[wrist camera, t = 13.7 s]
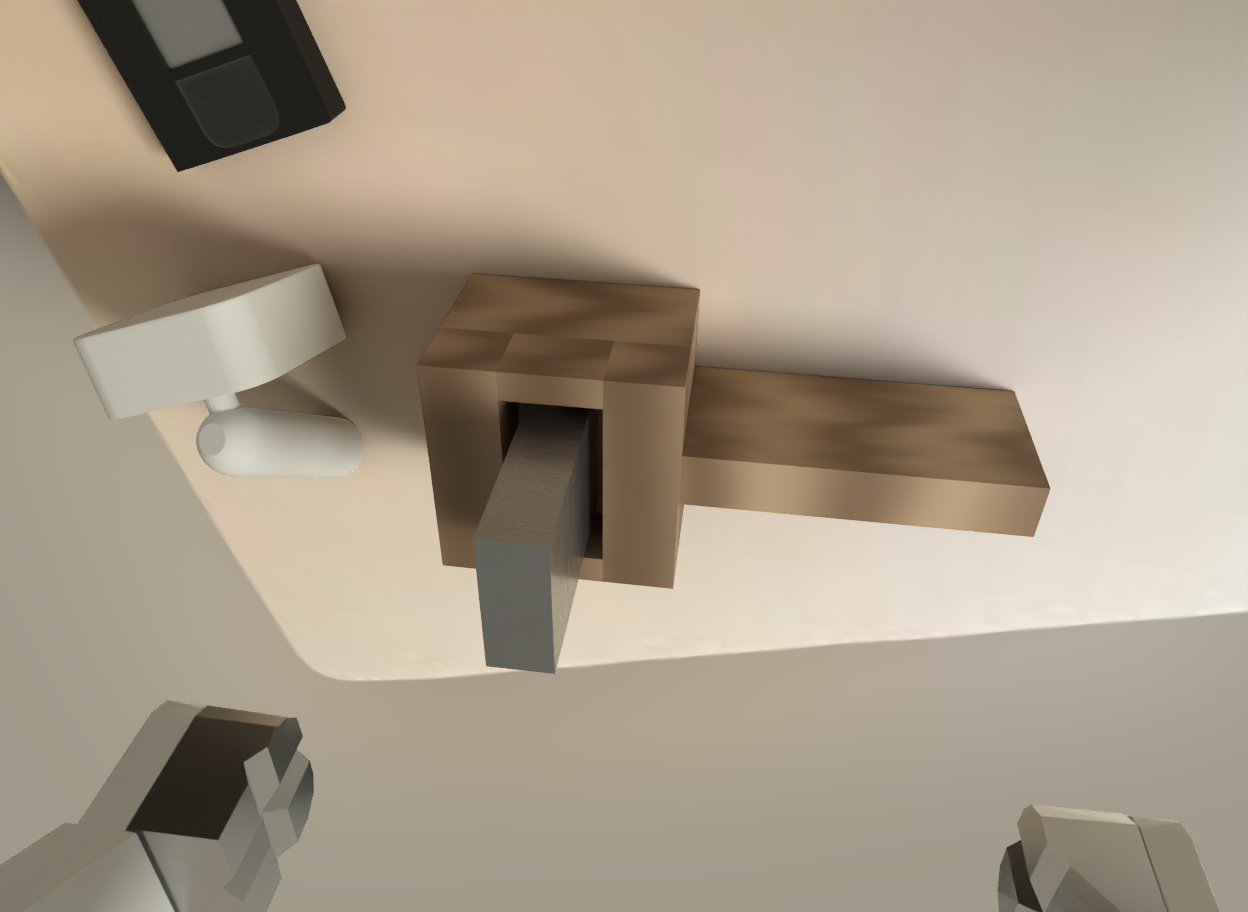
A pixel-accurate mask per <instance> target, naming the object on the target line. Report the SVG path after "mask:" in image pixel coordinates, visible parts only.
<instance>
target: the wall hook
mask: <svg viewBox="0 0 1248 912" xmlns="http://www.w3.org/2000/svg"><path fill="white" fill-rule="evenodd" d="M346 338H347V336H346V334H345V331H344V328H343V325H342V323H341V320H340V317H339V314H338V312H337V309H336V306H335V303H334V301H333V298H332V295H331V292H330V290H329V287H328V284H327V281H326V279H325V276H324V273H323V270H322V268H321V265H320V264H312V265H308V266H303V267H299V268H296V269H292V270H288V271H284V272H280V273H276V274H272V275H269V276H265V277H261V278H257V279H253V280H249V281H245V282H242V283H238V284H234V285H230V286H226V287H222V288H218V289H215V290H211V291H207V292H203V293H200V294H196V295H192V296H189V297H186V298H183V299H179V300H176V301H173V302H170V303H167V304H164V305H162V306H159V307H156V308H154V309H151V310H148V311H145V312H143V313H140V314H137V315H134V316H132V317H129V318H126V319H123V320H121V321H118V322H115V323H113V324H110V325H107V326H104V327H102V328H99V329H96V330H93V331H91V332H88V333H86V334H83V335H80V336H78V337H76V338H74V339H73V342H74V344H75V347H76V348H77V351H78V353H79V355H80V357H81V360H82V361H83V364H84V366H85V368H86V370H87V373H88V375H89V377H90V379H91V381H92V383H93V386H94V388H95V390H96V392H97V394H98V397H99V399H100V401H101V403H102V405H103V407H104V410H105V412H106V414H107V416H108V418H109V419H111V420H113V419H120V418H124V417H129V416H133V415H137V414H142V413H147V412H151V411H156V410H160V409H165V408H169V407H174V406H178V405H183V404H187V403H192V402H196V401H201V400H204V401H205V403H206V406H207V408H208V411H209V413H210V415H209V416H208V417H207V418H206V419H205V420H204V421H203V422H202V424H201V425H200V427H199V430H198V433H197V438H196V443H197V449H198V452H199V454H200V456H201V458H202V459H203V461H204V462H205V463H206V464H207V465H208V466H209V467H210V468H212V469H213V470H215V471H216V472H219V473H221V474H224V475H227V476H234V477H278V478H342V477H345V476H347V475H349V474H350V473H352V472H353V471H354V470H355V469H356V467H357V466H358V464H359V463H360V460H361V458H362V454H363V441H362V437H361V434H360V432H359V430H358V429H357V427H356V426H355V425H354V424H353V423H352V422H350V421H349V420H347V419H344V418H340V417H331V416H323V415H315V414H306V413H298V412H290V411H281V410H273V409H265V408H256V407H246V406H240V403H239V401H238V398H237V396H236V394H235V393H236V392H240V391H243V390H247V389H250V388H253V387H256V386H259V385H261V384H264V383H267V382H269V381H272V380H274V379H276V378H278V377H280V376H282V375H284V374H285V373H287V372H289V371H291V370H292V369H294V368H296V367H298V366H299V365H301V364H303V363H305V362H306V361H308V360H310V359H311V358H313V357H315V356H317V355H318V354H320V353H322V352H324V351H325V350H327V349H329V348H331V347H332V346H334V345H336V344H338V343H339V342H341V341H343V340H345V339H346Z"/></svg>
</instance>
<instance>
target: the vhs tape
mask: <svg viewBox="0 0 1248 912" xmlns="http://www.w3.org/2000/svg"><path fill="white" fill-rule="evenodd" d="M78 2H79V3H80V5H81V7H82V9H83V10H84V12H85V14H86V15H87V17H88V19H89V21H90V22H91V24H92V26H93V27H94V29H95V31H96V33H97V34H98V36H99V38H100V39H101V41H102V43H103V45H104V46H105V48H106V50H107V52H108V53H109V55H110V57H111V58H112V60H113V62H114V64H115V65H116V67H117V69H118V70H119V72H120V74H121V76H122V77H123V79H124V81H125V82H126V84H127V86H128V88H129V89H130V91H131V93H132V94H133V96H134V98H135V100H136V101H137V103H138V105H139V106H140V108H141V110H142V112H143V113H144V115H145V117H146V118H147V120H148V122H149V124H150V125H151V127H152V129H153V130H154V132H155V134H156V136H157V137H158V139H159V141H160V142H161V144H162V146H163V148H164V149H165V151H166V153H167V154H168V156H169V158H170V160H171V161H172V163H173V165H174V167H175V168H176V170H177V172H180V171H183V170H186V169H189V168H193V167H196V166H199V165H202V164H205V163H209V162H212V161H215V160H218V159H221V158H224V157H227V156H230V155H233V154H236V153H239V152H242V151H246V150H249V149H252V148H255V147H258V146H261V145H264V144H267V143H270V142H273V141H276V140H279V139H282V138H285V137H288V136H292V135H295V134H298V133H300V132H303V131H306V130H309V129H312V128H315V127H318V126H321V125H324V124H327V123H329V122H330V121H332V120H333V119H334V118H335V117H337V116H338V115H339V114H340V113H342V112H343V111H344V110H345V109H346V106H345V103H344V101H343V99H342V97H341V95H340V93H339V90H338V88H337V86H336V84H335V82H334V80H333V78H332V75H331V73H330V71H329V69H328V67H327V65H326V63H325V61H324V58H323V56H322V54H321V52H320V50H319V48H318V46H317V43H316V41H315V39H314V37H313V35H312V33H311V31H310V28H309V26H308V24H307V22H306V20H305V18H304V16H303V14H302V11H301V9H300V7H299V5H298V3H297V1H296V0H78Z"/></svg>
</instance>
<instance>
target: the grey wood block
mask: <svg viewBox="0 0 1248 912" xmlns="http://www.w3.org/2000/svg"><path fill="white" fill-rule="evenodd" d="M597 502H598V409H593V408H581V407H569V406H557V405H545V404H534V403H527V404H526V407H525V409H524V412H523V414H522V417H521V419H520V422H519V425H518V427H517V430H516V432H515V435H514V437H513V440H512V442H511V445H510V447H509V450H508V452H507V455H506V457H505V460H504V462H503V465H502V467H501V470H500V473H499V475H498V478H497V480H496V483H495V485H494V488H493V490H492V493H491V495H490V498H489V500H488V503H487V505H486V508H485V510H484V513H483V515H482V518H481V520H480V523H479V526H478V528H477V531H476V533H475V536H474V538H473V543H474V552H475V562H476V572H477V581H478V591H479V601H480V610H481V620H482V630H483V639H484V649H485V659H486V666H490V667H499V668H508V669H517V670H526V671H535V672H544V673H554V674H555V671H556V667H557V663H558V659H559V655H560V651H561V647H562V643H563V639H564V635H565V631H566V627H567V623H568V619H569V615H570V611H571V607H572V603H573V599H574V594H575V590H576V586H577V582H578V578H579V574H580V570H581V566H582V562H583V558H584V554H585V550H586V546H587V542H588V538H589V534H590V530H591V526H592V522H593V518H594V514H595V510H596V506H597Z"/></svg>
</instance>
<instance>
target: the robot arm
mask: <svg viewBox="0 0 1248 912" xmlns="http://www.w3.org/2000/svg"><path fill="white" fill-rule="evenodd" d="M302 737H303V735H302V732H301V730H300V727H299V723H298V720H297V718H294V717H286V716H280V715H273V714H265V713H257V712H250V711H243V710H236V709H229V708H221V707H214V706H210V705H202V704H193V703H185V702H177V701H169V700H167V701H165V702H164V703H163V704H162V705H160V706H159V707H158V708H157V709H155V710H154V711H153V712H152V713H151V715H150V716H149V717H148V719H147V720H146V722H145V723H144V725H143V726H142V728H141V729H140V731H139V732H138V734H137V736H136V737H135V738H134V740H133V742H132V743H131V744H130V746H129V747H128V749H127V750H126V752H125V753H124V755H123V756H122V758H121V759H120V761H119V762H118V764H117V765H116V767H115V768H114V770H113V771H112V773H111V774H110V776H109V778H108V779H107V780H106V782H105V783H104V785H103V786H102V788H101V789H100V791H99V792H98V794H97V796H96V797H95V798H94V800H93V802H92V803H91V804H90V806H89V807H88V809H87V810H86V812H85V813H84V815H83V816H82V818H81V819H80V821H79V822H78V824H72V823H64V824H62V825H61V826H59V827H58V828H56V829H55V830H53V831H52V832H50V833H49V834H47V835H45V836H44V837H42V838H41V839H39V840H38V841H36V842H35V843H33V844H32V845H30V846H29V847H27V848H26V849H24V850H23V851H21V852H20V853H18V854H16V855H15V856H13V857H12V858H10V859H9V860H7V861H6V862H4V863H3V864H1V865H0V912H266V911H267V909H268V907H269V904H270V902H271V900H272V898H273V896H274V894H275V891H276V889H277V887H278V885H279V883H280V880H281V874H280V870H279V866H278V862H277V857H278V856H280V855H281V854H282V853H284V852H285V851H286V850H288V849H289V848H290V847H292V846H293V845H294V844H296V843H297V842H298V840H299V838H300V835H301V833H302V831H303V828H304V826H305V824H306V821H307V819H308V815H309V811H310V806H311V802H312V797H313V793H314V785H313V771H312V768H311V763H310V760H308V759H307V758H306V757H305V756H304V755H303V754H301V753H300V752H299V751H298V750H297V747H298V745H299V743H300V741H301V739H302ZM1018 828H1019V833H1020V837H1021V840H1020V841H1018V842H1016V843H1014V844H1012V845H1010V846H1008V847H1007V849H1006V851H1005V854H1004V856H1003V859H1002V862H1001V864H1000V871H999V881H998V903H999V912H1221V911H1220V909H1219V906H1218V904H1217V901H1216V898H1215V896H1214V893H1213V891H1212V888H1211V886H1210V883H1209V880H1208V878H1207V875H1206V873H1205V870H1204V868H1203V865H1202V863H1201V860H1200V858H1199V855H1198V852H1197V850H1196V847H1195V845H1194V843H1193V840H1192V837H1191V835H1190V833H1189V831H1188V830H1187V829H1186V828H1185V827H1184V826H1183V825H1182V824H1181V823H1180V822H1176V821H1172V820H1162V819H1151V818H1141V817H1131V816H1126V815H1125V814H1120V813H1110V812H1101V811H1091V810H1081V809H1071V808H1062V807H1052V806H1042V805H1033V804H1031V805H1029V806H1028V807H1026V808H1025V809H1024V810H1023V812H1022V814H1021V816H1020V819H1019V821H1018Z"/></svg>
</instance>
